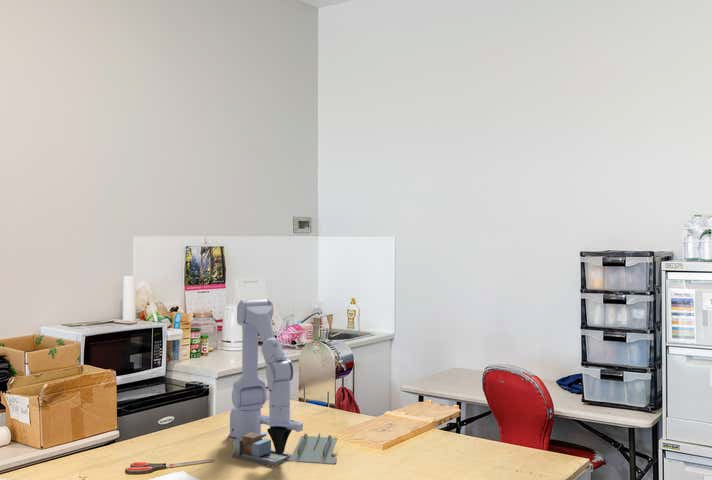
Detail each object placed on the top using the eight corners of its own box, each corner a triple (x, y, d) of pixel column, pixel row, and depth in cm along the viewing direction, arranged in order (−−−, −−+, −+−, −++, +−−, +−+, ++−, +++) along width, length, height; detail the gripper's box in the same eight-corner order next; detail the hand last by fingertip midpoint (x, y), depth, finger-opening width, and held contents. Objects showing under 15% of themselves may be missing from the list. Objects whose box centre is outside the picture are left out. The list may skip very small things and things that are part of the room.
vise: (231, 457, 192) (231, 440, 192) (249, 449, 198) (249, 433, 198) (273, 467, 184) (273, 449, 184) (290, 458, 190) (289, 441, 190)
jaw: (251, 455, 189) (251, 443, 189) (263, 450, 194) (263, 438, 194) (259, 457, 188) (259, 444, 188) (271, 451, 192) (271, 439, 192)
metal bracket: (295, 428, 200) (344, 431, 197) (296, 445, 202) (345, 448, 199) (281, 457, 187) (333, 461, 184) (283, 475, 189) (335, 479, 186)
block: (242, 453, 192) (242, 435, 192) (251, 449, 195) (251, 432, 195) (253, 455, 190) (253, 438, 190) (262, 451, 193) (262, 434, 193)
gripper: (250, 404, 187) (250, 452, 188) (291, 411, 180) (291, 462, 180) (266, 398, 193) (266, 445, 194) (307, 405, 186) (307, 454, 186)
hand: (279, 453), depth 187 cm, fingers closed
